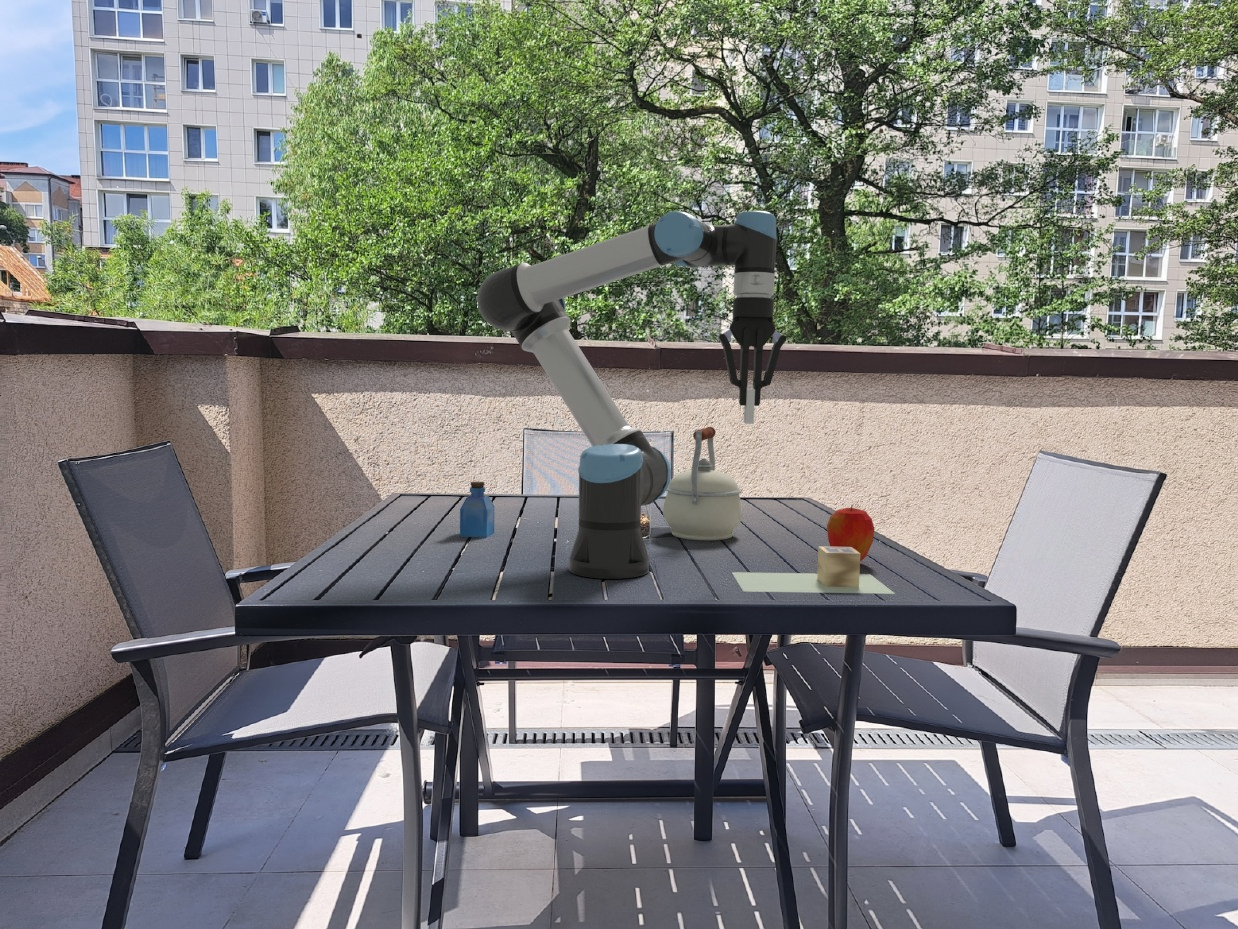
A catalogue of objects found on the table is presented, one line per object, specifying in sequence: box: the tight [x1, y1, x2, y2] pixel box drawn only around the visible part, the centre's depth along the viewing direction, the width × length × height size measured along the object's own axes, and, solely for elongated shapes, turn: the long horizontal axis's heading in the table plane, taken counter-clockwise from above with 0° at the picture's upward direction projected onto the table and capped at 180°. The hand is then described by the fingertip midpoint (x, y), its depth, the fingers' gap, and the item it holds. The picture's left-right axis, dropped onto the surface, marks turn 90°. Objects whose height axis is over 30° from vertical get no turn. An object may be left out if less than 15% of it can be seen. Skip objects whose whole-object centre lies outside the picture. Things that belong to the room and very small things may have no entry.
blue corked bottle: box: [459, 481, 495, 539], centre depth 206 cm, size 6×6×12 cm
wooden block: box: [816, 546, 861, 587], centre depth 162 cm, size 6×6×6 cm
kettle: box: [662, 426, 744, 542], centre depth 211 cm, size 25×18×25 cm
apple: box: [826, 504, 875, 563], centre depth 181 cm, size 9×9×12 cm
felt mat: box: [731, 571, 896, 595], centre depth 163 cm, size 26×15×1 cm, turn 91°
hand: (748, 423), depth 172 cm, fingers closed
